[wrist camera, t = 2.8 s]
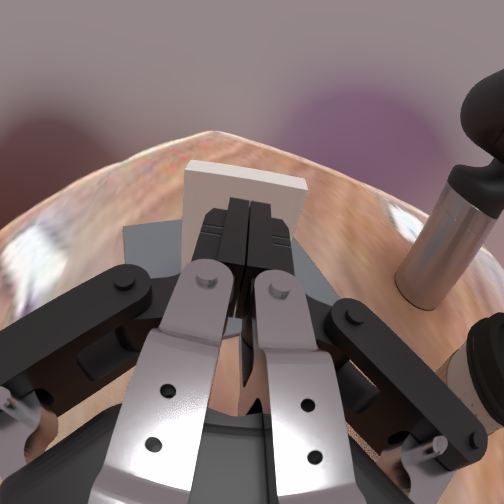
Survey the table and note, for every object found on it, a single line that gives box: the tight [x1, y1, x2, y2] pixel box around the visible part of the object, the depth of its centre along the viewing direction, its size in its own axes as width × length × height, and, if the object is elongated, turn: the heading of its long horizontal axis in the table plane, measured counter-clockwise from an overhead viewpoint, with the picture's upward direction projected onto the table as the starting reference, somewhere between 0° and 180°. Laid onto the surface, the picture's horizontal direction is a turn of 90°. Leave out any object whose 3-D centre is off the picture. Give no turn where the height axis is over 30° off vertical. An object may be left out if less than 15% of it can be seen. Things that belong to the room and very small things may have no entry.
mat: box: [123, 220, 340, 339], centre depth 34 cm, size 24×20×1 cm
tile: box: [181, 160, 308, 312], centre depth 25 cm, size 2×9×15 cm, turn 87°
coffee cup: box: [435, 312, 504, 436], centre depth 15 cm, size 10×10×15 cm
